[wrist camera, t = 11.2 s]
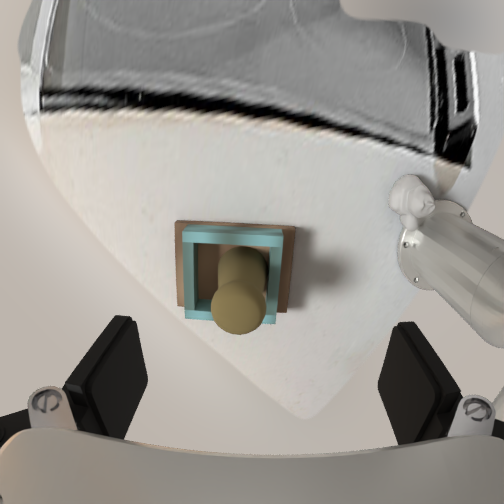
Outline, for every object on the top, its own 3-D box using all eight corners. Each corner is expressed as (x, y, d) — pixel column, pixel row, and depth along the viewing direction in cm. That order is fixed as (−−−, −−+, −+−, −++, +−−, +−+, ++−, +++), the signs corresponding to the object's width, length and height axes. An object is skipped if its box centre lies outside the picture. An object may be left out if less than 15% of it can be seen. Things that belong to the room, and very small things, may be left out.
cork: (266, 244, 38) (269, 284, 27) (269, 290, 40) (273, 342, 29) (214, 247, 38) (199, 289, 28) (220, 294, 40) (209, 345, 30)
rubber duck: (422, 174, 36) (455, 183, 28) (418, 224, 38) (449, 243, 30) (384, 171, 36) (413, 180, 28) (381, 224, 38) (407, 244, 30)
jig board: (294, 226, 38) (298, 236, 34) (285, 308, 42) (288, 325, 38) (177, 220, 38) (168, 229, 34) (179, 301, 42) (172, 317, 38)
